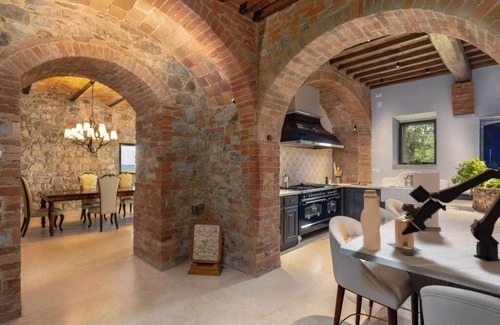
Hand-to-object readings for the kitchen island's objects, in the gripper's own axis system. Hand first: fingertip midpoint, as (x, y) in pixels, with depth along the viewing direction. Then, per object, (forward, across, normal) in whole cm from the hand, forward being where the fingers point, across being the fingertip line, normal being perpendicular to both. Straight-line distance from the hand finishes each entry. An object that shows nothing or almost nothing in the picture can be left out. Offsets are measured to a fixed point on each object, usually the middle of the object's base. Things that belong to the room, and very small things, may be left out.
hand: (400, 232), depth 124 cm
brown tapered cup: (+4, 0, +6) cm, 7 cm away
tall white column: (-9, -48, +20) cm, 53 cm away
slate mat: (+5, -2, +6) cm, 8 cm away
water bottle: (+15, +4, -4) cm, 16 cm away
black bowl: (+5, +9, +6) cm, 12 cm away
